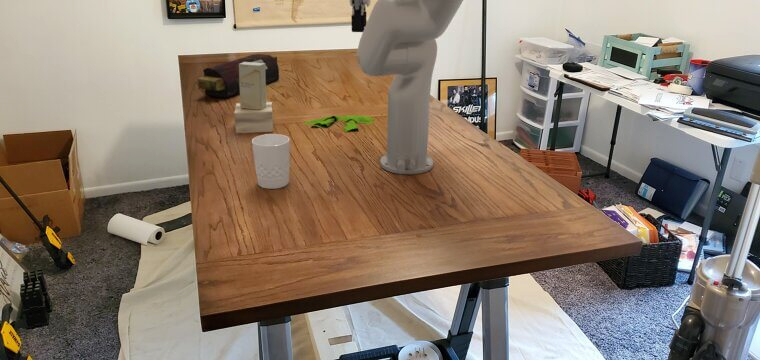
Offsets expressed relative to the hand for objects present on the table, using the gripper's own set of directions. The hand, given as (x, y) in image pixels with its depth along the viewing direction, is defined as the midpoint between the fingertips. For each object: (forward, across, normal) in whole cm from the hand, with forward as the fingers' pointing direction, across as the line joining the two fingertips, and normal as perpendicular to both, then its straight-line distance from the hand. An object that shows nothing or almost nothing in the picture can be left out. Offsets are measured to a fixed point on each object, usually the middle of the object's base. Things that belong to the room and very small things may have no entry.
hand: (359, 29), depth 145 cm
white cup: (+28, -36, +17) cm, 49 cm away
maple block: (+28, +3, +30) cm, 41 cm away
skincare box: (+22, +3, +30) cm, 37 cm away
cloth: (+29, +7, +7) cm, 30 cm away
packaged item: (+27, +48, +44) cm, 70 cm away
